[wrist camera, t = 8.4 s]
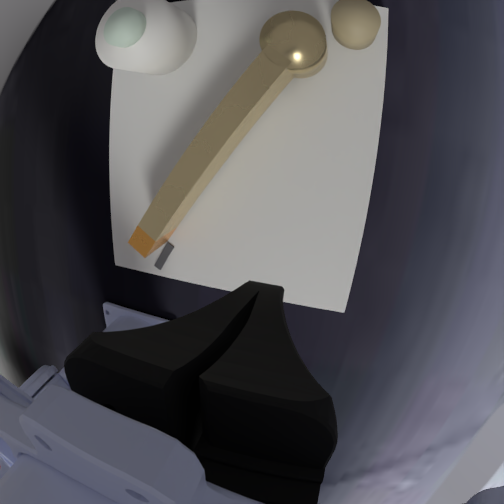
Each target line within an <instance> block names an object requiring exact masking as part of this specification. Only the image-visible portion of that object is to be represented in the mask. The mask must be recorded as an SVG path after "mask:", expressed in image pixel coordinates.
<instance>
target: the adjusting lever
mask: <svg viewBox="0 0 504 504" xmlns="http://www.w3.org/2000/svg"><path fill="white" fill-rule="evenodd" d="M259 42H260V47H261V50H262V51H261V53H260V54H259V55H258V56H257V57H256V58H255V60H254V61H253V62H252V63H251V64H250V66H249V67H248V68H247V69H246V71H245V72H244V73H243V74H242V75H241V77H240V78H239V79H238V80H237V82H236V83H235V84H234V85H233V87H232V88H231V89H230V91H229V92H228V93H227V94H226V96H225V97H224V98H223V100H222V101H221V102H220V104H219V105H218V106H217V108H216V109H215V110H214V112H213V113H212V114H211V116H210V117H209V118H208V120H207V121H206V122H205V124H204V125H203V127H202V128H201V129H200V131H199V132H198V133H197V135H196V136H195V138H194V139H193V141H192V142H191V143H190V145H189V146H188V148H187V149H186V151H185V152H184V154H183V155H182V156H181V158H180V159H179V161H178V162H177V164H176V165H175V167H174V168H173V170H172V171H171V173H170V174H169V176H168V177H167V179H166V181H165V182H164V184H163V185H162V187H161V188H160V190H159V191H158V193H157V195H156V196H155V198H154V199H153V201H152V203H151V204H150V206H149V207H148V209H147V211H146V212H145V214H144V216H143V217H142V219H141V221H140V222H139V224H138V226H137V227H136V229H135V231H134V233H133V234H132V236H131V238H130V239H129V241H128V243H129V244H130V245H131V246H132V247H133V248H134V249H135V250H136V251H137V252H139V253H140V254H141V255H142V256H143V257H144V258H146V257H147V256H148V255H150V254H151V253H152V252H154V251H155V250H156V249H158V248H159V247H161V246H162V245H163V244H165V243H166V242H167V241H168V240H169V238H170V237H171V235H172V234H173V232H174V231H175V230H176V228H177V227H178V225H179V224H180V222H181V221H182V220H183V218H184V217H185V215H186V214H187V213H188V211H189V210H190V208H191V207H192V206H193V204H194V203H195V201H196V200H197V199H198V197H199V196H200V195H201V193H202V192H203V191H204V189H205V188H206V186H207V185H208V184H209V182H210V181H211V180H212V178H213V177H214V176H215V174H216V173H217V172H218V170H219V169H220V168H221V167H222V165H223V164H224V163H225V161H226V160H227V159H228V157H229V156H230V155H231V153H232V152H233V151H234V150H235V148H236V147H237V146H238V145H239V143H240V142H241V141H242V139H243V138H244V137H245V136H246V134H247V133H248V132H249V131H250V129H251V128H252V127H253V126H254V124H255V123H256V122H257V121H258V120H259V118H260V117H261V116H262V115H263V113H264V112H265V111H266V110H267V109H268V107H269V106H270V105H271V104H272V103H273V101H274V100H275V99H276V98H277V97H278V95H279V94H280V93H281V92H282V91H283V90H284V88H285V87H286V86H287V85H288V84H289V83H290V81H291V80H292V79H293V78H307V77H311V76H313V75H315V74H317V73H318V72H319V71H320V70H322V68H323V67H324V65H325V64H326V61H327V57H328V51H327V42H326V35H325V31H324V29H323V27H322V25H321V24H320V23H319V21H318V20H317V19H315V18H314V17H313V16H311V15H309V14H307V13H305V12H301V11H293V10H292V11H284V12H280V13H278V14H276V15H274V16H272V17H271V18H270V19H268V20H267V21H266V23H265V24H264V25H263V27H262V29H261V32H260V37H259Z"/></svg>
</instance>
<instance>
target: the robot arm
mask: <svg viewBox="0 0 504 504" xmlns="http://www.w3.org/2000/svg"><path fill="white" fill-rule="evenodd" d="M283 297H284V288H283V287H282V286H278V285H272V284H267V283H261V282H256V281H250V280H249V281H248V282H246V283H244V284H243V285H241V286H240V287H238V288H237V289H235V290H233V291H232V292H230V293H229V294H227V295H225V296H224V297H222V298H220V299H219V300H217V301H215V302H213V303H211V304H209V305H207V306H205V307H203V308H201V309H199V310H197V311H195V312H193V313H190V314H188V315H185V316H183V317H180V318H177V319H174V320H171V321H170V320H166V319H163V318H159V317H156V316H152V315H149V314H145V313H142V312H138V311H135V310H132V309H128V308H125V307H122V306H119V305H116V304H112V303H109V302H105V303H104V304H103V310H104V316H105V321H106V326H107V328H106V329H105V330H104V331H103V332H93V333H92V334H91V335H89V336H88V337H87V338H86V339H85V340H84V341H83V342H82V343H81V344H80V345H79V346H78V347H77V348H76V349H75V350H74V351H73V352H71V353H70V354H69V355H68V356H67V358H66V360H65V363H64V368H63V369H62V370H61V371H60V372H59V373H58V374H56V372H57V371H58V370H57V368H56V367H55V366H53V365H52V366H47V365H44V366H42V367H41V368H39V369H38V370H37V371H36V372H35V373H34V374H33V375H31V376H30V377H29V378H28V379H27V380H26V381H25V382H24V383H23V384H22V385H21V386H20V387H19V388H18V387H16V386H15V385H14V384H12V383H11V382H10V381H8V380H7V379H5V378H4V377H3V376H2V375H0V504H317V502H318V496H319V491H320V485H321V483H322V482H323V478H324V472H325V467H326V465H327V463H328V462H329V460H330V458H331V456H332V454H333V452H334V450H335V448H336V444H337V438H338V433H337V421H336V415H335V410H334V405H333V401H332V398H331V396H330V395H329V394H328V393H327V392H326V391H325V390H324V389H323V388H322V387H321V386H320V385H319V384H318V383H317V381H316V380H315V379H314V377H313V376H312V375H311V373H310V372H309V370H308V369H307V367H306V366H305V364H304V362H303V361H302V359H301V358H300V356H299V354H298V352H297V350H296V348H295V346H294V343H293V341H292V339H291V336H290V333H289V330H288V327H287V323H286V319H285V314H284V309H283ZM108 311H109V312H108ZM464 504H504V486H502V487H496V488H490V489H486V490H483V491H481V492H479V493H477V494H476V495H474V496H473V497H472V498H471V499H470V500H468V502H467V503H464Z"/></svg>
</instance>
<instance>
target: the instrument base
mask: <svg viewBox="0 0 504 504" xmlns="http://www.w3.org/2000/svg"><path fill="white" fill-rule="evenodd" d="M292 10H293V11H301V12H305V13H307V14H309V15H311V16H313V17H314V18H315V19H317V20H318V21H319V23H320V24H321V25H322V27H323V29H324V31H325V35H326V42H327V51H328V57H327V61H326V64H325V65H324V67H323V68H322V70H320V71H319V72H318V73H317V74H315V75H313V76H311V77H307V78H293V79H292V80H291V81H290V83H289V84H288V85H287V86H286V87H285V88H284V90H283V91H282V92H281V93H280V94H279V95H278V97H277V98H276V99H275V100H274V101H273V103H272V104H271V105H270V106H269V107H268V109H267V110H266V111H265V112H264V113H263V115H262V116H261V117H260V118H259V120H258V121H257V122H256V123H255V124H254V126H253V127H252V128H251V129H250V131H249V132H248V133H247V134H246V136H245V137H244V138H243V139H242V141H241V142H240V143H239V145H238V146H237V147H236V148H235V150H234V151H233V152H232V153H231V155H230V156H229V157H228V159H227V160H226V161H225V163H224V164H223V165H222V167H221V168H220V169H219V170H218V172H217V173H216V174H215V176H214V177H213V178H212V180H211V181H210V182H209V184H208V185H207V186H206V188H205V189H204V191H203V192H202V193H201V195H200V196H199V197H198V199H197V200H196V201H195V203H194V204H193V206H192V207H191V208H190V210H189V211H188V213H187V214H186V215H185V217H184V218H183V220H182V221H181V222H180V224H179V225H178V227H177V228H176V230H175V231H174V232H173V234H172V235H171V237H170V238H169V240H168V241H167V242H166V243H165V244H163V245H162V246H161V247H159V248H158V249H156V250H155V251H154V252H152V253H151V254H150V255H148V256H147V257H146V258H144V257H143V256H142V255H141V254H140V253H139V252H137V251H136V250H135V249H134V248H133V247H132V246H131V245H130V244H129V243H128V241H129V239H130V238H131V236H132V234H133V233H134V231H135V229H136V227H137V226H138V224H139V222H140V221H141V219H142V217H143V216H144V214H145V212H146V211H147V209H148V207H149V206H150V204H151V203H152V201H153V199H154V198H155V196H156V195H157V193H158V191H159V190H160V188H161V187H162V185H163V184H164V182H165V181H166V179H167V177H168V176H169V174H170V173H171V171H172V170H173V168H174V167H175V165H176V164H177V162H178V161H179V159H180V158H181V156H182V155H183V154H184V152H185V151H186V149H187V148H188V146H189V145H190V143H191V142H192V141H193V139H194V138H195V136H196V135H197V133H198V132H199V131H200V129H201V128H202V127H203V125H204V124H205V122H206V121H207V120H208V118H209V117H210V116H211V114H212V113H213V112H214V110H215V109H216V108H217V106H218V105H219V104H220V102H221V101H222V100H223V98H224V97H225V96H226V94H227V93H228V92H229V91H230V89H231V88H232V87H233V85H234V84H235V83H236V82H237V80H238V79H239V78H240V77H241V75H242V74H243V73H244V72H245V71H246V69H247V68H248V67H249V66H250V64H251V63H252V62H253V61H254V60H255V58H256V57H257V56H258V55H259V54H260V53H261V51H262V50H261V47H260V42H259V37H260V32H261V29H262V27H263V25H264V24H265V23H266V21H267V20H268V19H270V18H271V17H272V16H274V15H276V14H278V13H280V12H284V11H292ZM387 38H388V8H384V7H379V6H374V5H372V4H371V3H370V2H368V1H367V0H186V1H178V2H171V3H170V2H168V1H166V0H117V1H116V2H115V3H114V4H113V5H112V6H111V7H110V8H109V9H108V10H107V11H106V13H105V14H104V16H103V17H102V19H101V21H100V23H99V26H98V29H97V32H96V40H95V43H96V50H97V54H98V56H99V58H100V59H101V61H102V62H103V63H104V64H106V65H107V66H109V67H111V68H113V79H112V92H111V110H110V142H109V171H110V204H111V222H112V236H113V248H114V259H115V265H117V266H122V267H126V268H130V269H134V270H138V271H142V272H147V273H151V274H155V275H159V276H164V277H168V278H172V279H177V280H181V281H186V282H190V283H195V284H199V285H204V286H209V287H213V288H218V289H223V290H228V291H233V290H235V289H237V288H238V287H240V286H241V285H243V284H244V283H246V282H248V281H249V280H250V281H256V282H261V283H267V284H272V285H278V286H282V287H283V288H284V297H283V302H288V303H293V304H298V305H304V306H309V307H315V308H320V309H326V310H331V311H337V312H343V313H344V312H345V308H346V304H347V300H348V296H349V292H350V288H351V284H352V280H353V276H354V272H355V268H356V263H357V259H358V254H359V250H360V245H361V240H362V236H363V231H364V226H365V221H366V215H367V210H368V205H369V199H370V193H371V188H372V182H373V175H374V169H375V162H376V156H377V148H378V141H379V133H380V125H381V116H382V107H383V97H384V86H385V73H386V58H387Z"/></svg>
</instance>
